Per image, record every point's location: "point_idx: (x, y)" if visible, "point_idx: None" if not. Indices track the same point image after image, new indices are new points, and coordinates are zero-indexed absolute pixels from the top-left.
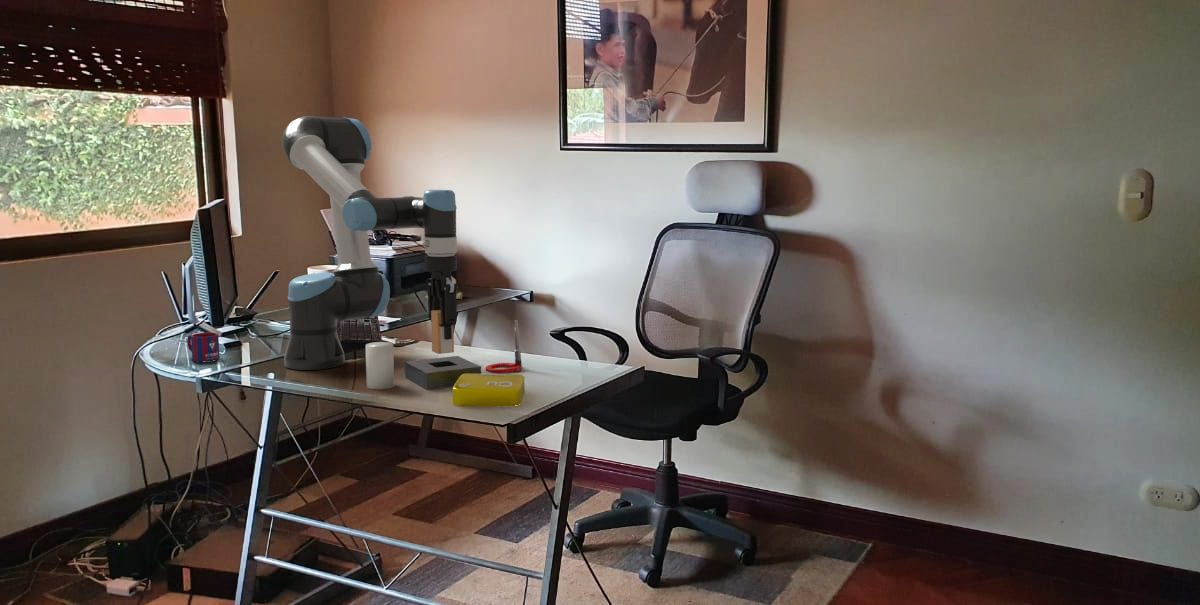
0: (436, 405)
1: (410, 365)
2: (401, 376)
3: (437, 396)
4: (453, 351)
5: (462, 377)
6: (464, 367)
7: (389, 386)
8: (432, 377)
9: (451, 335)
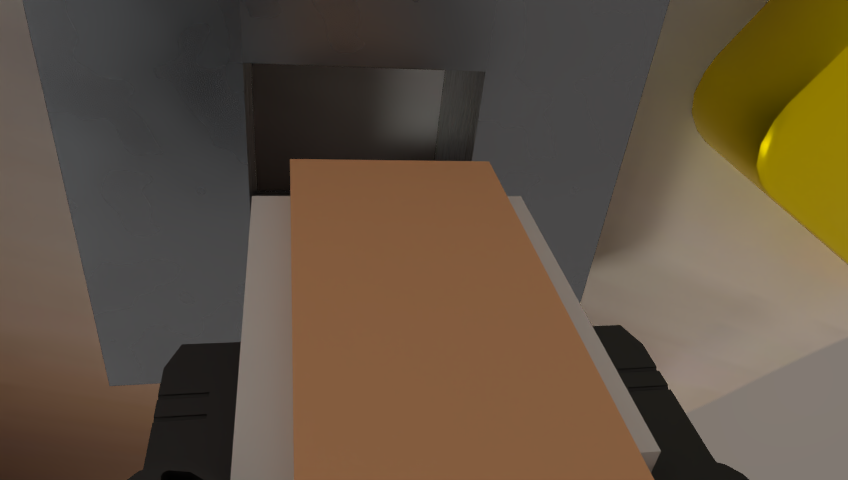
0: (808, 333)
1: None
2: (77, 306)
3: (687, 282)
4: (489, 169)
5: (841, 214)
6: (613, 64)
7: None
8: None
9: (652, 363)
